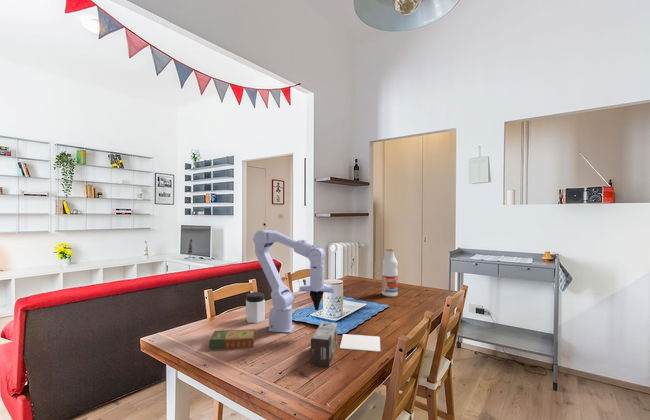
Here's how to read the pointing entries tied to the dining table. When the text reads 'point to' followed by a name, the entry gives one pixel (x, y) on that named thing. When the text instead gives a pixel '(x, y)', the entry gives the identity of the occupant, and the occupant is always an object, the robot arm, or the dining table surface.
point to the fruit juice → (390, 274)
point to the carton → (232, 339)
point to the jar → (255, 307)
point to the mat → (360, 342)
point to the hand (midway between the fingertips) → (316, 309)
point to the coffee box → (324, 344)
